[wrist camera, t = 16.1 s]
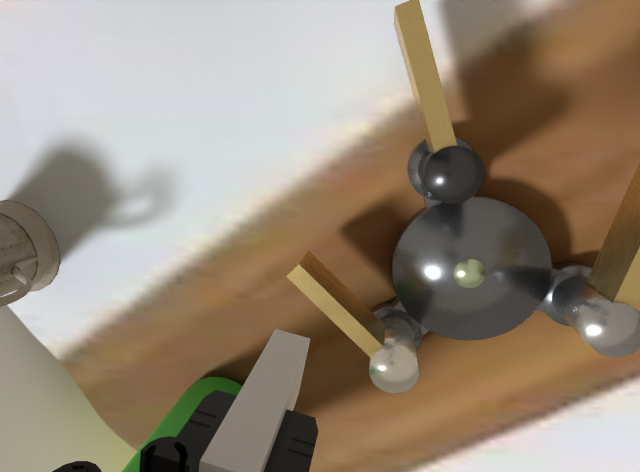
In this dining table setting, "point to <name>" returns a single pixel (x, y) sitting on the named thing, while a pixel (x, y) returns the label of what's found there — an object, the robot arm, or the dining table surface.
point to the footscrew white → (362, 326)
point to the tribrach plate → (471, 267)
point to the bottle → (185, 411)
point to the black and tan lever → (435, 115)
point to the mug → (25, 252)
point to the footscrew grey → (609, 286)
